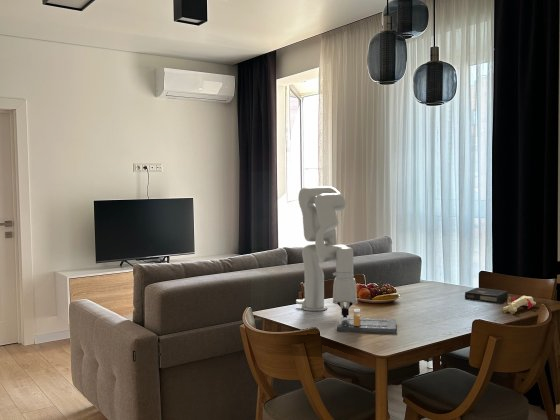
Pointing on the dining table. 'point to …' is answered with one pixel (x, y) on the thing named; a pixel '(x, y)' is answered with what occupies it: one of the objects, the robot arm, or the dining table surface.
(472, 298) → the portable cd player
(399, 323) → the dining table surface
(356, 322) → the orange fader
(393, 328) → the console
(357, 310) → the cream fader
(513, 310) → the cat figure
